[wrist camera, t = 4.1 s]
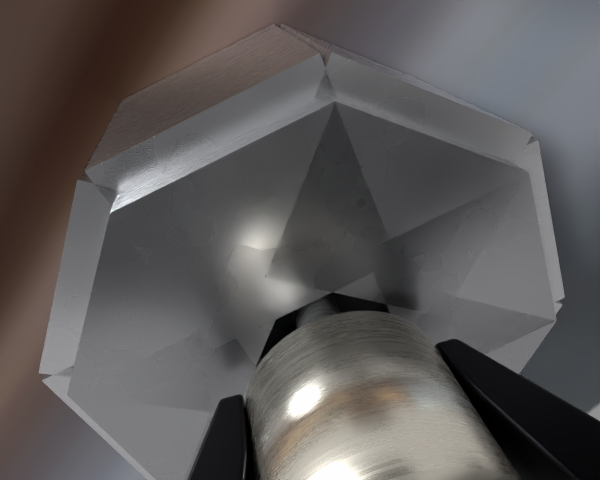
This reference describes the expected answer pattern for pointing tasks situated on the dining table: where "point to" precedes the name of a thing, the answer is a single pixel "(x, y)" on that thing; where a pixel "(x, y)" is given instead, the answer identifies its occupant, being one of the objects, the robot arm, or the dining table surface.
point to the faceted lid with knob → (285, 232)
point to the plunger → (362, 402)
